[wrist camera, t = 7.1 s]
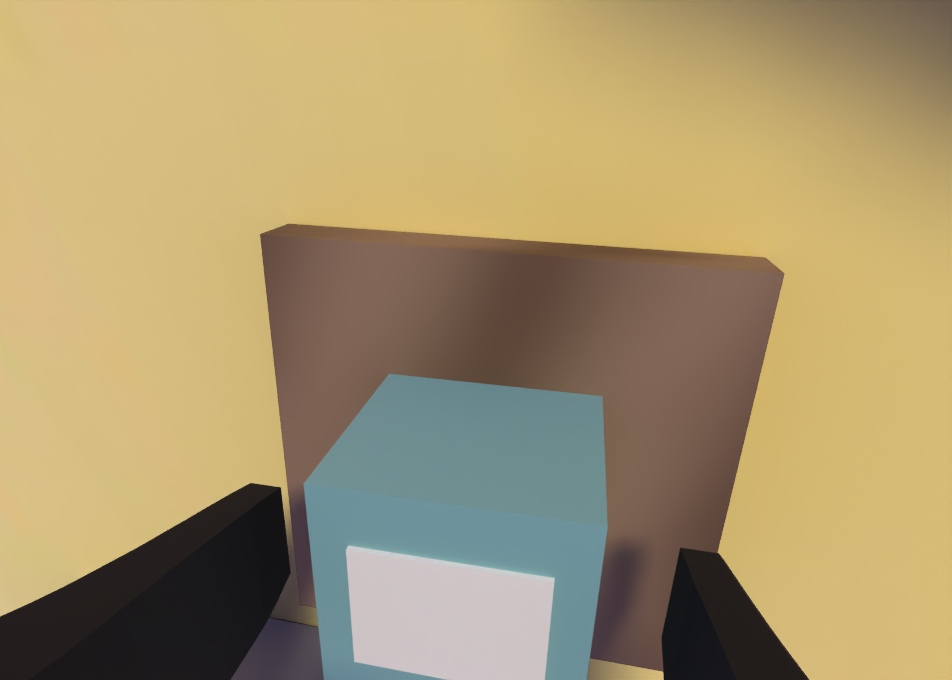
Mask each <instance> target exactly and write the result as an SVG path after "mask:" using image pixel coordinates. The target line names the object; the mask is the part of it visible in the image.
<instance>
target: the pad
mask: <svg viewBox="0 0 952 680" xmlns="http://www.w3.org/2000/svg"><path fill="white" fill-rule="evenodd" d="M260 237H261V247H262V256H263V265H264V274H265V283H266V293H267V302H268V311H269V320H270V329H271V339H272V348H273V357H274V366H275V375H276V384H277V394H278V403H279V412H280V421H281V430H282V440H283V449H284V458H285V467H286V476H287V486H288V495H289V504H290V513H291V522H292V532H293V541H294V550H295V559H296V568H297V578H298V587H299V596H300V605H305V606H310V607H315V608H316V599H315V589H314V579H313V570H312V560H311V551H310V541H309V531H308V522H307V512H306V503H305V493H304V483H305V481H306V480H307V479H308V477H309V476H310V475H311V474H312V472H313V471H314V470H315V468H316V467H317V466H318V465H319V463H320V462H321V461H322V459H323V458H324V457H325V456H326V454H327V453H328V452H329V450H330V449H331V448H332V447H333V445H334V444H335V443H336V441H337V440H338V439H339V438H340V436H341V435H342V434H343V432H344V431H345V430H346V429H347V427H348V426H349V425H350V423H351V422H352V421H353V420H354V418H355V417H356V416H357V414H358V413H359V412H360V411H361V409H362V408H363V407H364V405H365V404H366V403H367V402H368V400H369V399H370V398H371V396H372V395H373V394H374V393H375V391H376V390H377V389H378V387H379V386H380V385H381V384H382V382H383V381H384V380H385V378H386V377H387V376H388V375H389V374H396V375H406V376H415V377H425V378H434V379H444V380H453V381H463V382H472V383H482V384H491V385H501V386H510V387H520V388H529V389H539V390H548V391H558V392H567V393H577V394H586V395H596V396H603V420H604V446H605V471H606V497H607V522H608V528H607V535H606V543H605V550H604V557H603V565H602V572H601V579H600V587H599V594H598V601H597V608H596V616H595V623H594V630H593V638H592V645H591V652H590V658H593V659H598V660H603V661H609V662H614V663H620V664H625V665H631V666H636V667H642V668H647V669H652V670H658V671H663V656H662V640H661V637H662V632H663V627H664V623H665V618H666V613H667V608H668V603H669V599H670V594H671V589H672V584H673V579H674V575H675V570H676V565H677V560H678V555H679V551H680V548H687V549H694V550H700V551H707V552H714V553H717V552H718V548H719V544H720V539H721V535H722V531H723V527H724V523H725V519H726V514H727V510H728V506H729V502H730V498H731V494H732V489H733V485H734V481H735V477H736V473H737V469H738V464H739V460H740V456H741V452H742V448H743V444H744V440H745V435H746V431H747V427H748V423H749V419H750V415H751V410H752V406H753V402H754V398H755V394H756V390H757V385H758V381H759V377H760V373H761V369H762V365H763V360H764V356H765V352H766V348H767V344H768V340H769V335H770V331H771V327H772V323H773V319H774V315H775V310H776V306H777V302H778V298H779V294H780V290H781V285H782V281H783V277H784V273H783V272H782V271H781V270H780V269H778V268H777V267H776V266H775V265H774V264H772V263H771V262H770V261H769V260H768V259H766V258H763V257H749V256H735V255H720V254H706V253H692V252H678V251H664V250H650V249H636V248H622V247H608V246H593V245H579V244H565V243H551V242H537V241H523V240H509V239H495V238H481V237H467V236H452V235H438V234H424V233H410V232H396V231H382V230H368V229H354V228H340V227H325V226H311V225H297V224H287V225H284V226H281V227H279V228H276V229H273V230H270V231H268V232H265V233H262V234H260Z"/></svg>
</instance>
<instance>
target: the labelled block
mask: <svg viewBox="0 0 952 680" xmlns="http://www.w3.org/2000/svg"><path fill="white" fill-rule="evenodd" d="M304 493H305V503H306V512H307V522H308V531H309V541H310V551H311V560H312V570H313V579H314V589H315V599H316V608H317V618H318V627H319V637H320V646H321V656H322V666H323V675H324V680H587V674H588V667H589V660H590V652H591V645H592V638H593V630H594V623H595V616H596V608H597V601H598V594H599V587H600V579H601V572H602V565H603V557H604V550H605V543H606V535H607V528H608V522H607V497H606V471H605V446H604V420H603V396H596V395H586V394H577V393H567V392H558V391H548V390H539V389H529V388H520V387H510V386H501V385H491V384H482V383H472V382H463V381H453V380H444V379H434V378H425V377H415V376H406V375H396V374H389V375H388V376H387V377H386V378H385V380H384V381H383V382H382V384H381V385H380V386H379V387H378V389H377V390H376V391H375V393H374V394H373V395H372V396H371V398H370V399H369V400H368V402H367V403H366V404H365V405H364V407H363V408H362V409H361V411H360V412H359V413H358V414H357V416H356V417H355V418H354V420H353V421H352V422H351V423H350V425H349V426H348V427H347V429H346V430H345V431H344V432H343V434H342V435H341V436H340V438H339V439H338V440H337V441H336V443H335V444H334V445H333V447H332V448H331V449H330V450H329V452H328V453H327V454H326V456H325V457H324V458H323V459H322V461H321V462H320V463H319V465H318V466H317V467H316V468H315V470H314V471H313V472H312V474H311V475H310V476H309V477H308V479H307V480H306V481H305V483H304Z"/></svg>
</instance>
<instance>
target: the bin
mask: <svg viewBox="0 0 952 680" xmlns="http://www.w3.org/2000/svg"><path fill="white" fill-rule="evenodd" d="M231 680H324V675H323V666H322V656H321V646H320V637H319V627H314V626H309V625H303V624H298V623H293V622H288V621H282V620H277V619H272V618H268V620H267V622H266V624H265V626H264V628H263V629H262V631H261V633H260V634H259V636H258V637H257V639H256V641H255V642H254V644H253V645H252V647H251V648H250V650H249V652H248V653H247V655H246V656H245V658H244V659H243V661H242V663H241V664H240V666H239V667H238V669H237V670H236V672H235V674H234V675H233V677H232V678H231Z"/></svg>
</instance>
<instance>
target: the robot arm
mask: <svg viewBox="0 0 952 680" xmlns="http://www.w3.org/2000/svg"><path fill="white" fill-rule="evenodd" d="M289 575H290V564H289V555H288V547H287V538H286V529H285V520H284V512H283V503H282V494H281V488H280V487H274V486H267V485H260V484H254V483H250V484H248V485H246V486H244V487H243V488H241V489H239V490H237V491H235V492H233V493H231V494H230V495H228V496H226V497H224V498H223V499H221V500H219V501H217V502H216V503H214V504H212V505H210V506H209V507H207V508H205V509H204V510H202V511H200V512H198V513H197V514H195V515H193V516H192V517H190V518H188V519H186V520H185V521H183V522H181V523H180V524H178V525H176V526H174V527H173V528H171V529H169V530H167V531H166V532H164V533H162V534H160V535H159V536H157V537H155V538H154V539H152V540H150V541H148V542H147V543H145V544H143V545H141V546H140V547H138V548H136V549H134V550H132V551H130V552H129V553H127V554H125V555H123V556H121V557H119V558H117V559H116V560H114V561H112V562H110V563H108V564H106V565H104V566H102V567H101V568H99V569H97V570H95V571H93V572H91V573H89V574H87V575H86V576H84V577H82V578H80V579H78V580H76V581H74V582H72V583H70V584H68V585H66V586H64V587H62V588H60V589H58V590H56V591H54V592H52V593H50V594H48V595H46V596H44V597H42V598H40V599H38V600H36V601H34V602H32V603H29V604H27V605H25V606H23V607H21V608H18V609H16V610H14V611H12V612H10V613H7V614H5V615H3V616H1V617H0V680H231V678H232V677H233V675H234V674H235V672H236V670H237V669H238V667H239V666H240V664H241V663H242V661H243V659H244V658H245V656H246V655H247V653H248V652H249V650H250V648H251V647H252V645H253V644H254V642H255V641H256V639H257V637H258V636H259V634H260V633H261V631H262V629H263V628H264V626H265V624H266V622H267V620H268V618H269V617H270V615H271V613H272V611H273V609H274V607H275V605H276V603H277V601H278V598H279V596H280V594H281V592H282V590H283V588H284V586H285V583H286V581H287V579H288V577H289ZM661 640H662V656H663V673H664V680H809V679H808V677H807V676H806V675H805V673H804V672H803V671H802V669H801V668H800V667H799V666H798V664H797V663H796V662H795V660H794V659H793V658H792V656H791V655H790V654H789V652H788V651H787V650H786V648H785V647H784V646H783V644H782V643H781V642H780V640H779V639H778V637H777V636H776V635H775V633H774V632H773V630H772V629H771V628H770V626H769V625H768V623H767V622H766V621H765V619H764V618H763V616H762V615H761V613H760V612H759V611H758V609H757V608H756V606H755V605H754V603H753V602H752V601H751V599H750V598H749V596H748V595H747V593H746V592H745V590H744V589H743V587H742V586H741V584H740V583H739V582H738V580H737V579H736V577H735V576H734V574H733V573H732V571H731V570H730V568H729V567H728V565H727V564H726V562H725V561H724V559H723V558H722V557H721V556H720V554H719V553H714V552H707V551H700V550H694V549H687V548H680V551H679V555H678V560H677V565H676V570H675V575H674V579H673V584H672V589H671V594H670V599H669V603H668V608H667V613H666V618H665V623H664V627H663V632H662V637H661Z"/></svg>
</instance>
